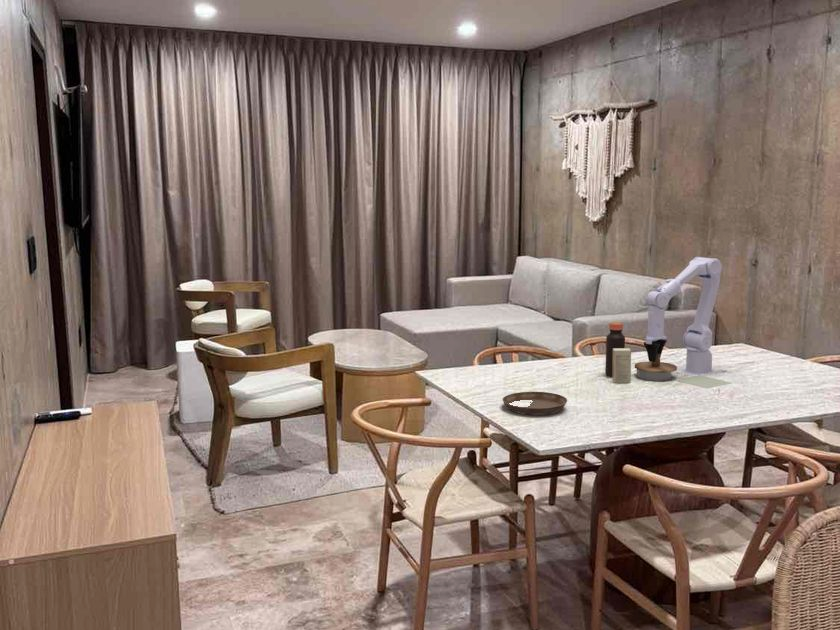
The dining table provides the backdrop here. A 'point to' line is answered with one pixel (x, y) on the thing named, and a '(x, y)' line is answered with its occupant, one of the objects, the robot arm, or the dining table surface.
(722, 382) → the mat
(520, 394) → the plant saucer
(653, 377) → the bowl
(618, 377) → the skincare box
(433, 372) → the dining table surface
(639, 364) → the lid
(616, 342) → the bottle
